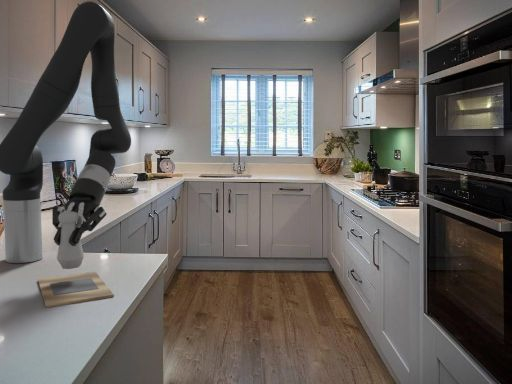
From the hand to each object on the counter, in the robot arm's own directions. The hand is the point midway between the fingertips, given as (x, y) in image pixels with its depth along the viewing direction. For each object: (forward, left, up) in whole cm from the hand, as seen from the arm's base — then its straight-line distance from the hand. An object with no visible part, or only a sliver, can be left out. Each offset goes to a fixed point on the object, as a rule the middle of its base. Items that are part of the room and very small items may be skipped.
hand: (64, 243), depth 100 cm
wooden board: (+4, 0, -10) cm, 10 cm away
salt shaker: (-1, +2, -6) cm, 6 cm away
